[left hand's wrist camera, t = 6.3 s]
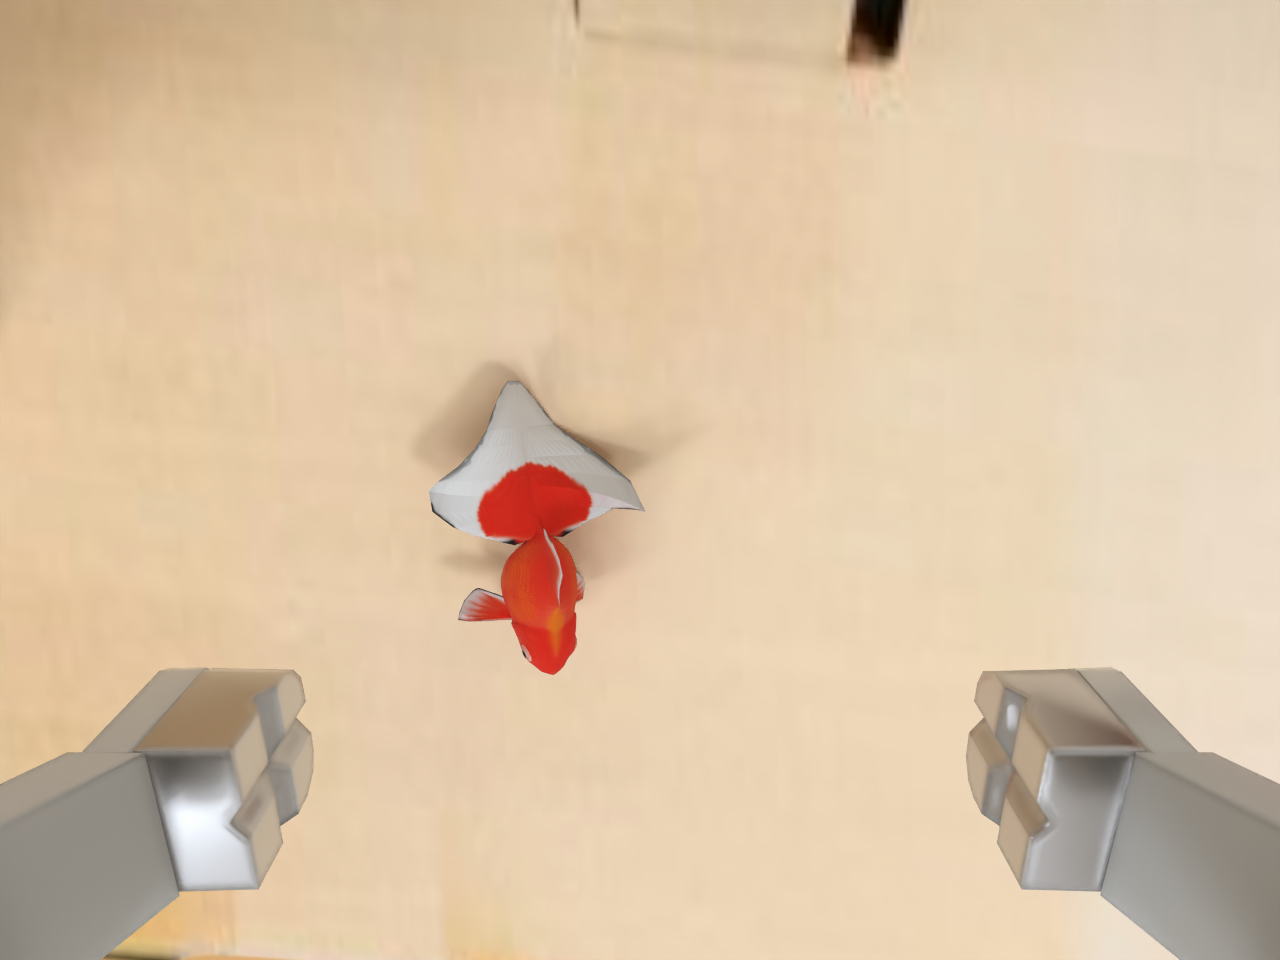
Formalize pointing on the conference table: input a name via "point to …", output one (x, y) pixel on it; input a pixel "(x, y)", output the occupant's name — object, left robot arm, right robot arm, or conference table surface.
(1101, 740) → the left robot arm
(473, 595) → the fish
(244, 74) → the conference table surface
